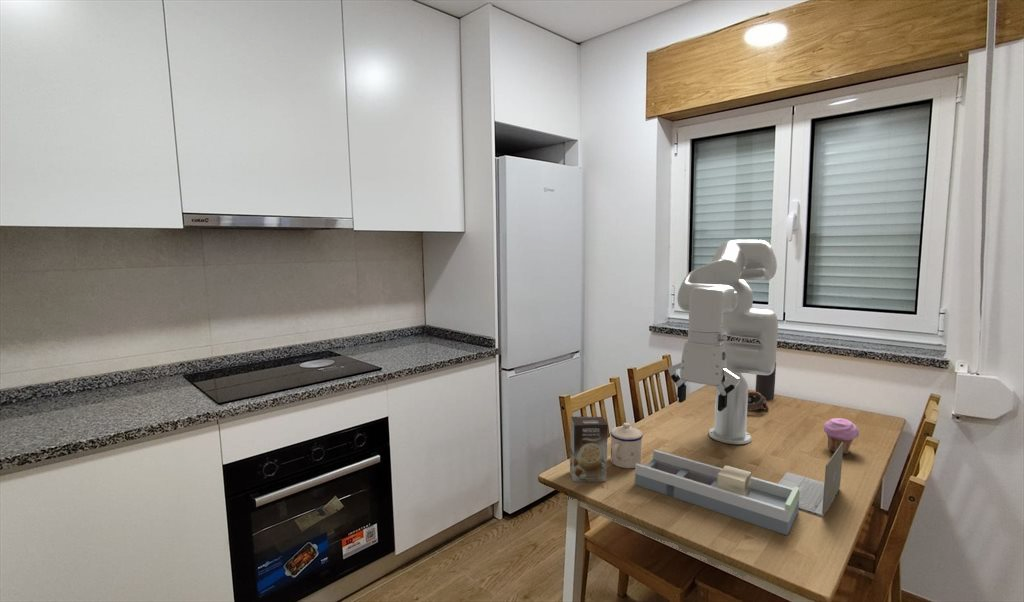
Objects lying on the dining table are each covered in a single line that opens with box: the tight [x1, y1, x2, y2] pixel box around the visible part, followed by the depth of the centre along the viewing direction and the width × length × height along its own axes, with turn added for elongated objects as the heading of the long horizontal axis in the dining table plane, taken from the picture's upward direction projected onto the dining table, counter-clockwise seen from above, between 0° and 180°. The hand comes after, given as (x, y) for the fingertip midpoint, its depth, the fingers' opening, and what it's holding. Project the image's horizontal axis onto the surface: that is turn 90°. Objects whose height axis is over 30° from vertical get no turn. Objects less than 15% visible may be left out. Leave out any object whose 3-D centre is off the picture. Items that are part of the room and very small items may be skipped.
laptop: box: [777, 442, 844, 518], centre depth 125 cm, size 18×12×13 cm
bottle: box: [754, 362, 777, 401], centre depth 199 cm, size 7×7×20 cm
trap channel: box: [634, 449, 800, 536], centre depth 124 cm, size 12×36×6 cm, turn 50°
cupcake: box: [823, 417, 860, 455], centre depth 150 cm, size 9×9×10 cm
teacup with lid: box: [610, 422, 644, 469], centre depth 143 cm, size 12×9×12 cm
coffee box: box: [569, 416, 609, 483], centre depth 135 cm, size 9×6×16 cm
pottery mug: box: [747, 390, 770, 412], centre depth 186 cm, size 12×10×8 cm
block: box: [717, 464, 752, 497], centre depth 121 cm, size 6×6×5 cm
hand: (701, 405), depth 123 cm, fingers open, 9 cm apart
